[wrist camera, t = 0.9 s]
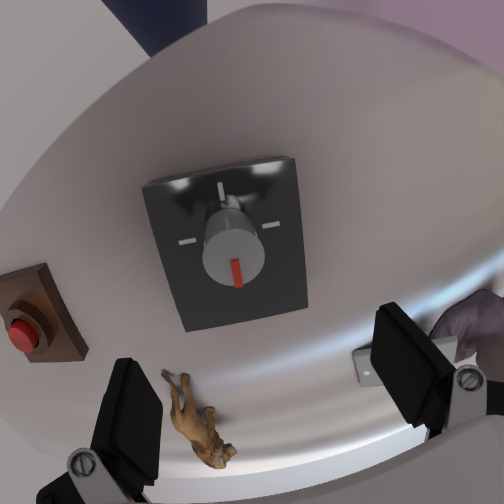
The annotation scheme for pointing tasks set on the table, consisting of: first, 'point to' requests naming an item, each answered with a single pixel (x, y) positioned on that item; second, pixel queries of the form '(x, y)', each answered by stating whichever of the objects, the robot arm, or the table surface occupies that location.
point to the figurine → (477, 332)
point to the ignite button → (23, 336)
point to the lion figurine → (198, 428)
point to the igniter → (41, 314)
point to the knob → (232, 248)
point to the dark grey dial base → (265, 223)
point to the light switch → (370, 376)
